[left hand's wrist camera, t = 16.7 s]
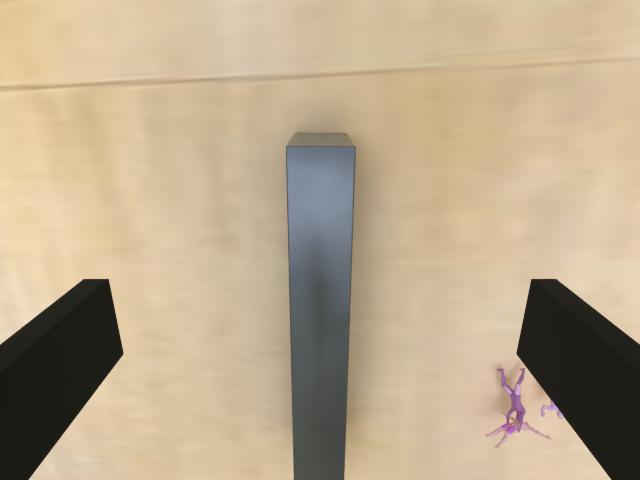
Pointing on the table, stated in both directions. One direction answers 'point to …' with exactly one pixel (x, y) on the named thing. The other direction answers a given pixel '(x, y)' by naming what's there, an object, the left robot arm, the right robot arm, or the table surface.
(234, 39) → the table surface
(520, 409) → the people figure
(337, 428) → the bar
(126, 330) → the table surface
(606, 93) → the table surface
